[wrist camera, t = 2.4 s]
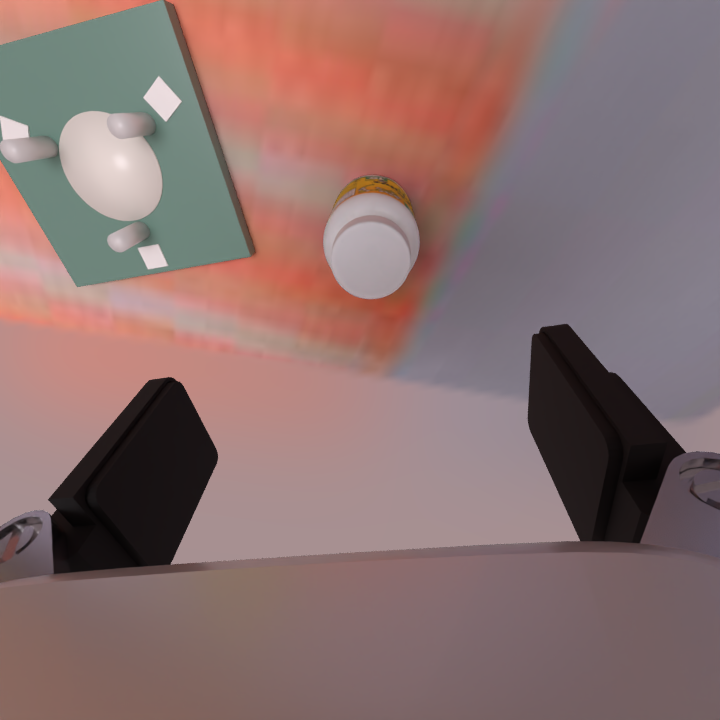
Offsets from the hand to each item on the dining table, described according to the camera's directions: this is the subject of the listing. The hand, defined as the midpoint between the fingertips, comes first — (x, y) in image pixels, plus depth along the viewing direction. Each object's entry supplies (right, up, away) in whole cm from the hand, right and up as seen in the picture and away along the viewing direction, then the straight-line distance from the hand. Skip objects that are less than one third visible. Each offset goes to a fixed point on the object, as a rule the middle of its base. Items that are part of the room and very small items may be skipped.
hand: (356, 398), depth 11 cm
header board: (-16, +14, +16) cm, 26 cm away
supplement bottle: (+1, +11, +17) cm, 20 cm away
